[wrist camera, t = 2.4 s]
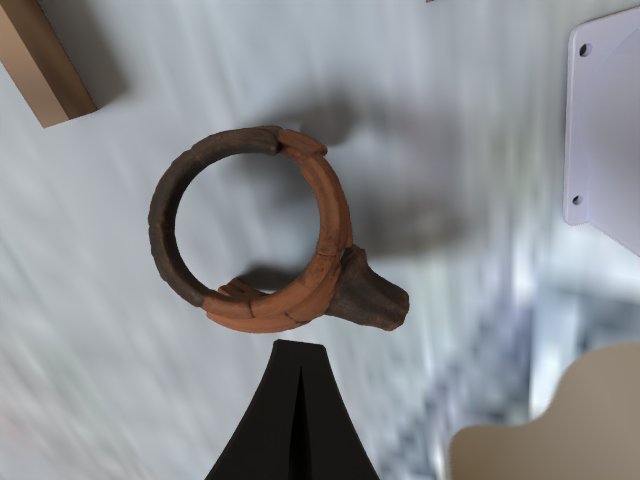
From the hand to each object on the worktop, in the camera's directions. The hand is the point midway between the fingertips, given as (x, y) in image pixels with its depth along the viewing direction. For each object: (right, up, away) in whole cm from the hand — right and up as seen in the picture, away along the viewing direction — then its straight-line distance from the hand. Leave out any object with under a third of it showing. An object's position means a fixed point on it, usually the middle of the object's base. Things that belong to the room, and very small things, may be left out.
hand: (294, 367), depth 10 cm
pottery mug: (-1, +4, +10) cm, 11 cm away
